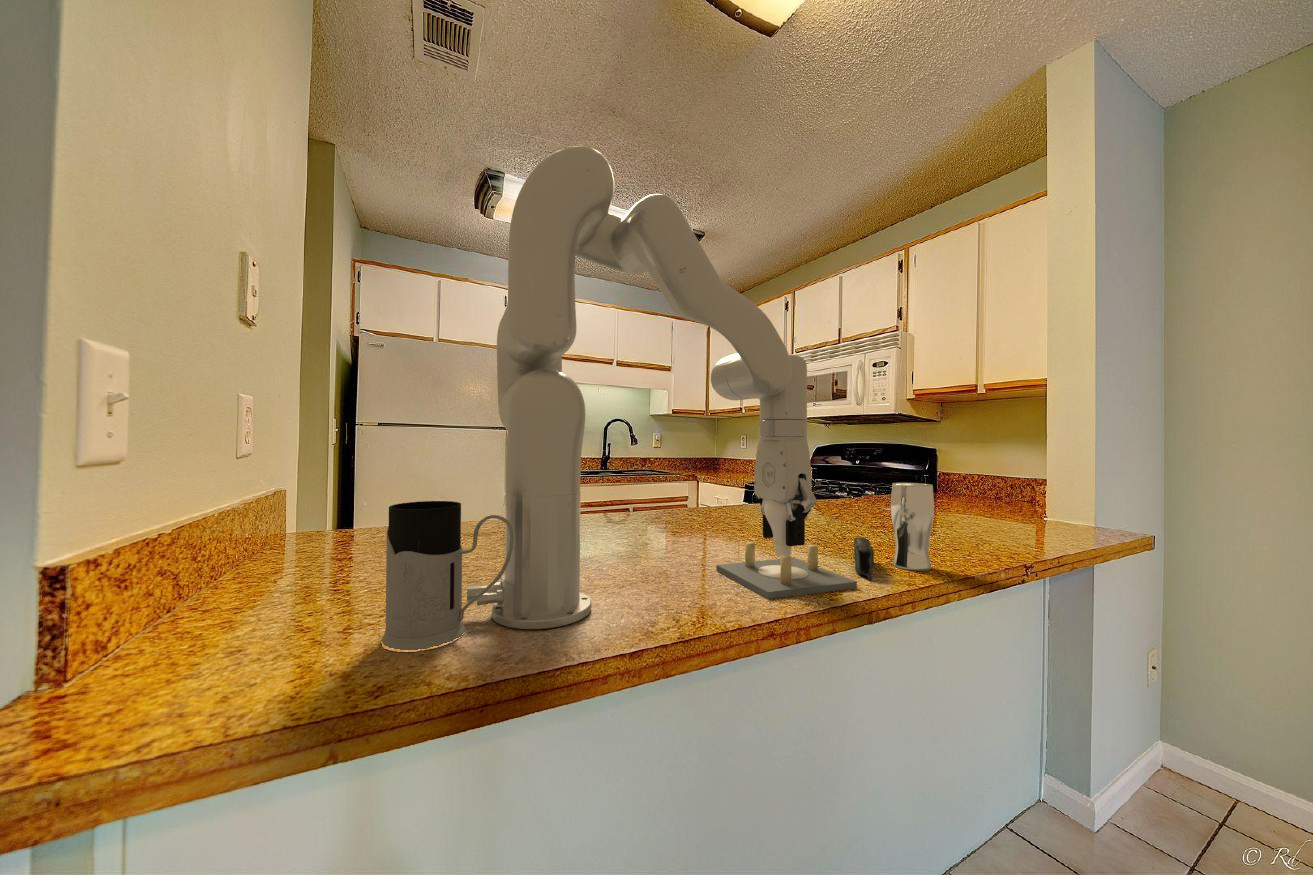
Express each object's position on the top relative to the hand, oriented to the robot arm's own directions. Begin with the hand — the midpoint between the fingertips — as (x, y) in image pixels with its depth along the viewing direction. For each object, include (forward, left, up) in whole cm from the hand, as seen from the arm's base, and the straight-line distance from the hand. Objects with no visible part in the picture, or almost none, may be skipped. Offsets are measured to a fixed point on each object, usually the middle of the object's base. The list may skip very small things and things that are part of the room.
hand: (783, 540), depth 79 cm
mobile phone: (+17, 0, -7) cm, 19 cm away
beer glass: (+27, -1, -7) cm, 28 cm away
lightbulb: (0, 0, -3) cm, 3 cm away
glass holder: (-50, -7, -7) cm, 51 cm away
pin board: (0, 0, -6) cm, 6 cm away
